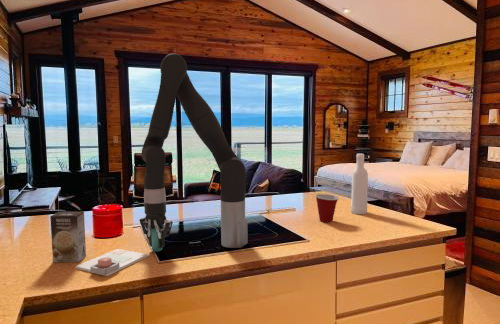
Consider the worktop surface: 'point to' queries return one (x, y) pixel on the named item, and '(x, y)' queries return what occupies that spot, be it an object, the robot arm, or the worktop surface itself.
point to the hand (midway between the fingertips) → (156, 246)
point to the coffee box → (68, 236)
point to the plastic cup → (326, 206)
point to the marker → (155, 240)
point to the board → (118, 262)
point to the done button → (104, 262)
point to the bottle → (359, 187)
